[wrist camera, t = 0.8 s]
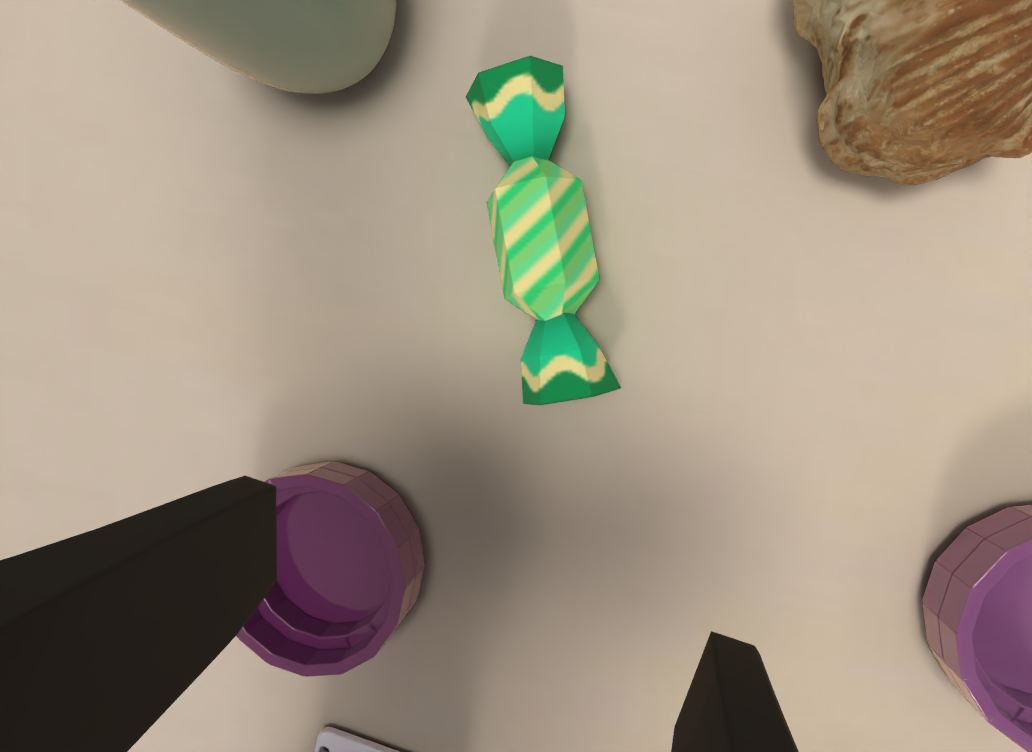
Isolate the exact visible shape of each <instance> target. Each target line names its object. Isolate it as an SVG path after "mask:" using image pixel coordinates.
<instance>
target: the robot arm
mask: <svg viewBox="0 0 1032 752" xmlns="http://www.w3.org/2000/svg"><path fill="white" fill-rule="evenodd" d="M276 581H277V521H276V486H274V485H271V484H268V483H265V482H262V481H259V480H256V479H253V478H250V477H247V476H243V477H239V478H236V479H233V480H230V481H227V482H224V483H221V484H218V485H215V486H212V487H210V488H207V489H204V490H201V491H199V492H196V493H193V494H190V495H188V496H185V497H182V498H180V499H177V500H174V501H172V502H169V503H166V504H163V505H161V506H158V507H155V508H153V509H150V510H147V511H144V512H142V513H139V514H136V515H133V516H131V517H128V518H125V519H123V520H120V521H117V522H114V523H112V524H109V525H106V526H103V527H101V528H98V529H95V530H92V531H89V532H86V533H83V534H80V535H77V536H74V537H71V538H68V539H65V540H62V541H59V542H56V543H53V544H50V545H47V546H44V547H41V548H38V549H35V550H32V551H29V552H26V553H23V554H20V555H16V556H13V557H10V558H7V559H3V560H0V752H127V751H128V750H129V749H130V748H131V747H132V746H133V745H134V744H135V743H136V742H137V741H138V740H139V739H140V738H141V736H142V735H143V734H144V733H145V732H146V731H147V730H148V729H149V728H150V727H151V726H152V725H153V724H154V723H155V722H156V721H157V720H158V718H159V717H160V716H161V715H162V714H163V713H164V712H165V711H166V710H167V709H168V708H169V707H170V706H171V705H172V704H173V703H174V702H175V700H176V699H177V698H178V697H179V696H180V695H181V694H182V693H183V692H184V691H185V690H186V689H187V688H188V687H189V686H190V685H191V684H192V682H193V681H194V680H195V679H196V678H197V677H198V676H199V675H200V674H201V673H202V672H203V671H204V670H205V669H206V668H207V666H208V665H209V664H210V663H211V662H212V661H213V660H214V659H215V658H216V657H217V656H218V655H219V654H220V652H221V651H222V650H223V649H224V648H225V647H226V646H227V645H228V644H229V643H230V642H231V640H232V639H233V638H234V637H235V636H236V635H237V634H238V633H239V631H240V630H241V629H242V627H243V626H244V625H245V624H246V622H247V621H248V620H249V618H250V617H251V616H252V614H253V613H254V612H255V610H256V609H257V608H258V606H259V605H260V603H261V602H262V601H263V599H264V598H265V596H266V595H267V594H268V592H269V591H270V589H271V588H272V586H273V585H274V584H275V582H276ZM323 747H326V748H328V749H329V751H330V752H400V751H397V750H394V749H391V748H389V747H386V746H383V745H380V744H377V743H375V742H372V741H369V740H366V739H363V738H361V737H358V736H355V735H352V734H350V733H347V732H344V731H341V730H338V729H336V728H333V727H325V728H323V729H322V730H321V732H320V733H319V734H318V736H317V739H316V744H315V749H314V752H327V751H325V750H324V748H323ZM671 752H799V751H798V749H797V747H796V744H795V742H794V740H793V737H792V735H791V732H790V730H789V728H788V725H787V723H786V720H785V718H784V715H783V713H782V711H781V708H780V706H779V703H778V700H777V698H776V695H775V693H774V690H773V688H772V685H771V683H770V680H769V677H768V675H767V672H766V669H765V667H764V664H763V661H762V658H761V656H760V654H759V652H758V650H757V649H756V647H755V646H754V645H751V644H748V643H745V642H742V641H739V640H736V639H733V638H730V637H727V636H724V635H721V634H718V633H715V632H712V631H711V633H710V636H709V639H708V641H707V644H706V646H705V649H704V652H703V654H702V657H701V659H700V662H699V665H698V667H697V670H696V672H695V675H694V678H693V680H692V683H691V686H690V688H689V691H688V693H687V696H686V699H685V701H684V704H683V706H682V709H681V712H680V714H679V717H678V719H677V722H676V725H675V728H674V735H673V743H672V750H671Z"/></svg>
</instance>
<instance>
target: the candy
mask: <svg viewBox="0 0 1032 752" xmlns="http://www.w3.org/2000/svg"><path fill="white" fill-rule="evenodd" d="M466 98H467V100H468V102H469V104H470V106H471V108H472V110H473V111H474V113H475V115H476V117H477V119H478V121H479V123H480V124H481V126H482V128H483V130H484V132H485V134H486V136H487V138H488V139H489V140H490V141H491V143H492V144H493V145H494V146H495V148H496V149H497V150H498V151H499V153H500V154H501V155H502V156H503V158H504V159H505V160H506V161H507V163H508V164H509V165H510V168H509V169H508V171H507V172H506V174H505V175H504V176H503V178H502V179H501V181H500V182H499V184H498V185H497V186H496V188H495V189H494V191H493V193H492V194H491V196H490V198H489V199H488V201H487V207H488V212H489V218H490V223H491V228H492V234H493V239H494V244H495V250H496V255H497V260H498V266H499V271H500V276H501V281H502V287H503V292H504V297H505V299H506V300H507V301H509V302H510V303H512V304H513V305H515V306H517V307H518V308H520V309H521V310H523V311H524V312H526V313H527V314H529V315H531V316H532V317H534V318H535V319H537V320H536V322H535V325H534V327H533V330H532V332H531V335H530V337H529V340H528V343H527V345H526V348H525V350H524V353H523V355H522V358H521V370H522V388H523V404H533V405H544V404H550V403H557V402H563V401H569V400H576V399H582V398H588V397H594V396H597V395H600V394H603V393H607V392H610V391H613V390H616V389H620V388H621V387H620V385H619V383H618V381H617V379H616V377H615V376H614V374H613V372H612V370H611V368H610V366H609V364H608V363H607V361H606V359H605V357H604V355H603V353H602V351H601V350H600V348H599V346H598V344H597V343H596V342H595V340H594V339H593V338H592V337H591V335H590V334H589V333H588V332H587V330H586V329H585V328H584V326H583V325H582V324H581V323H580V321H579V320H578V319H577V318H576V316H575V315H574V314H575V313H576V311H577V310H578V308H579V307H580V306H581V304H582V303H583V302H584V300H585V299H586V297H587V296H588V295H589V293H590V292H591V291H592V289H593V288H594V286H595V285H596V284H597V282H598V281H599V274H598V269H597V263H596V258H595V252H594V247H593V241H592V236H591V230H590V225H589V219H588V214H587V208H586V203H585V197H584V191H583V186H582V180H580V179H579V178H577V177H575V176H574V175H572V174H571V173H569V172H567V171H566V170H564V169H562V168H561V167H559V166H557V165H556V164H554V163H552V162H551V161H549V160H548V159H549V157H550V154H551V151H552V149H553V146H554V144H555V141H556V138H557V136H558V133H559V130H560V128H561V125H562V123H563V120H564V117H565V102H564V80H563V66H561V65H558V64H555V63H552V62H549V61H545V60H542V59H539V58H536V57H532V56H528V57H525V58H522V59H519V60H516V61H513V62H510V63H507V64H504V65H501V66H498V67H495V68H492V69H488V70H485V71H482V72H479V73H478V75H477V76H476V78H475V80H474V82H473V84H472V86H471V88H470V90H469V92H468V94H467V95H466Z"/></svg>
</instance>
